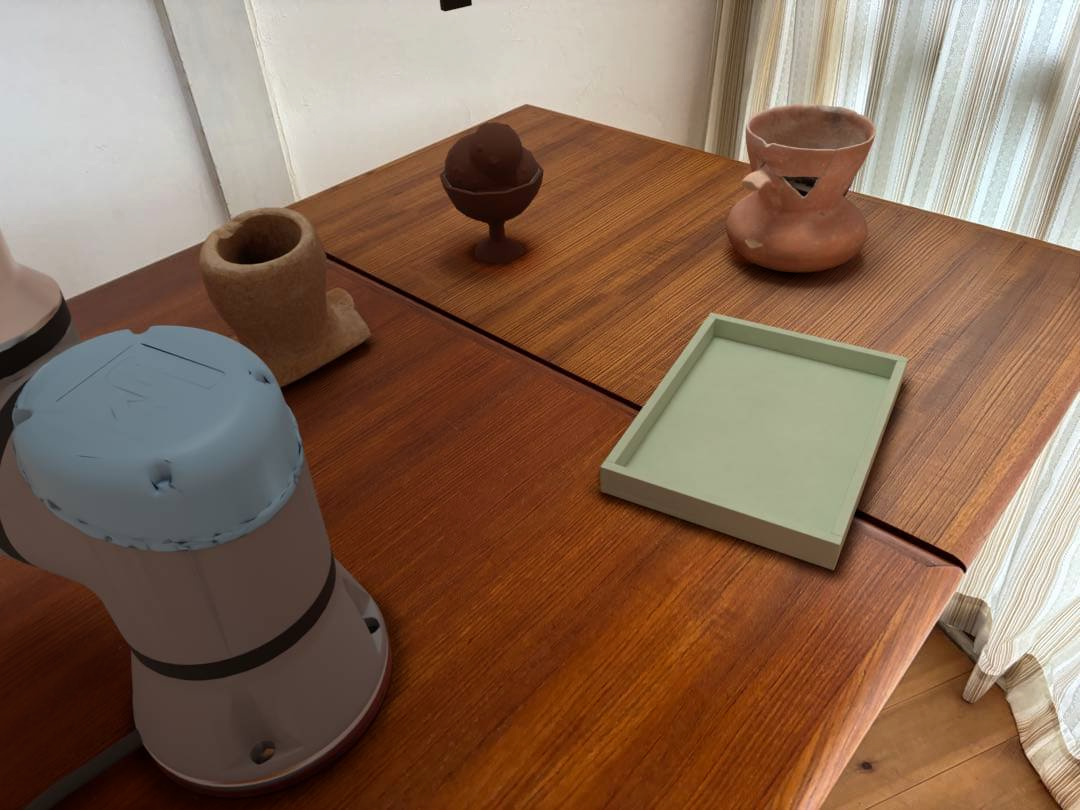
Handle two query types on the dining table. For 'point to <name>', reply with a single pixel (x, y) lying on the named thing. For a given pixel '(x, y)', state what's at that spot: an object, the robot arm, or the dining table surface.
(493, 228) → the ice cream bowl
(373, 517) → the dining table surface
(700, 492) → the serving tray
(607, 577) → the dining table surface
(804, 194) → the ceramic jug
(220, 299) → the stone cup
